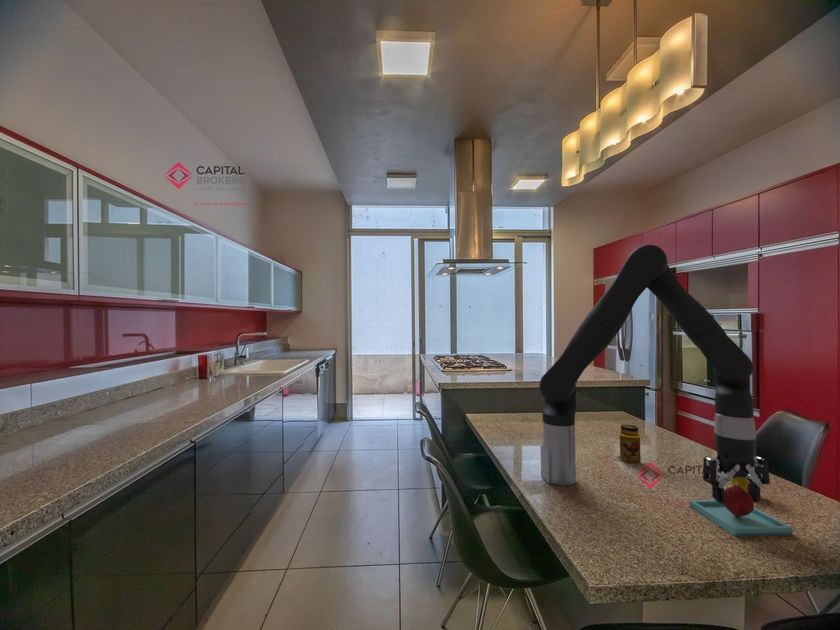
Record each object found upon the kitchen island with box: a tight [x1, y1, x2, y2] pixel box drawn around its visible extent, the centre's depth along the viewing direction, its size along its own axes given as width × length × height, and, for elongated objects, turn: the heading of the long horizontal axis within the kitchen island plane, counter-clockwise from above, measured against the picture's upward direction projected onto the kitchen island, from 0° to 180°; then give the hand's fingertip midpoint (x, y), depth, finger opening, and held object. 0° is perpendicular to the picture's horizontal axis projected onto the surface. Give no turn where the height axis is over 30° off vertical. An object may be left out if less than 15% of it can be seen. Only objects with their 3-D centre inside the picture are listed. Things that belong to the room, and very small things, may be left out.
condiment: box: [610, 424, 648, 467], centre depth 124 cm, size 7×8×12 cm
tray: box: [688, 499, 793, 537], centre depth 86 cm, size 13×13×2 cm
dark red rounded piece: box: [723, 482, 755, 517], centre depth 86 cm, size 6×6×8 cm
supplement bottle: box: [729, 467, 754, 493], centre depth 100 cm, size 5×5×10 cm
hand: (736, 501), depth 86 cm, fingers open, 8 cm apart
